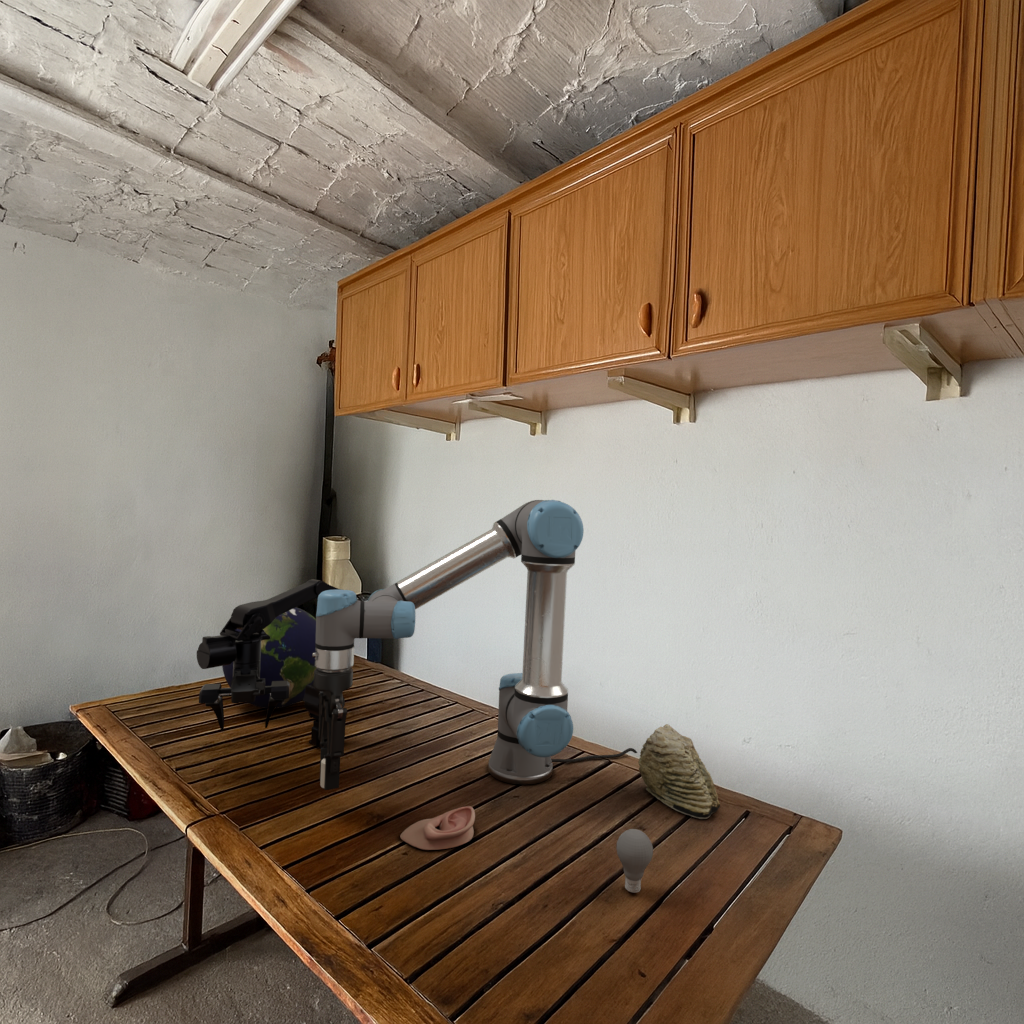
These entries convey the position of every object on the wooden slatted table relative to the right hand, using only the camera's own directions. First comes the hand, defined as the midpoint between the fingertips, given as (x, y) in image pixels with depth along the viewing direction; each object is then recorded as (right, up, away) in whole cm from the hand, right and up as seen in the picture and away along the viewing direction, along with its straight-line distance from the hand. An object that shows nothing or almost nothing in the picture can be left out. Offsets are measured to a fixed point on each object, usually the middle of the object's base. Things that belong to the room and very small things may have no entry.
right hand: (329, 783), depth 127 cm
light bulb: (+57, -9, -22) cm, 62 cm away
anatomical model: (+23, -7, -7) cm, 25 cm away
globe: (-34, -3, +61) cm, 70 cm away
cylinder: (0, 0, 0) cm, 0 cm away
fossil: (+73, -9, +12) cm, 74 cm away
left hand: (-24, +5, +17) cm, 30 cm away
